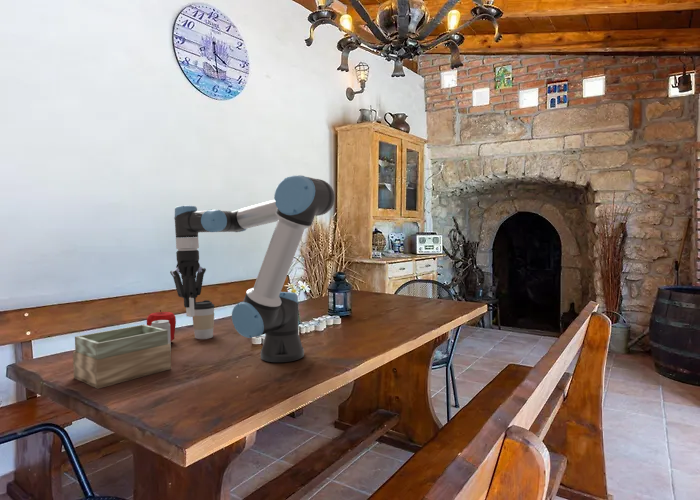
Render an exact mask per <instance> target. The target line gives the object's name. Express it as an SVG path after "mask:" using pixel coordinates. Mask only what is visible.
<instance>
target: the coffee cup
mask: <svg viewBox="0 0 700 500" xmlns="http://www.w3.org/2000/svg"><path fill="white" fill-rule="evenodd" d="M194 313H195V316H193V317H192V325H193V332H194V338H195V339H197V340H209V339H211V338H213V337H214V327H215V326H214V325H215V324H214V323H215V304H214V303H213V302H212V301H210V300H209V299H208V300H207V299H205V300H202V301H196V306H194Z"/></svg>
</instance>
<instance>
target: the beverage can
mask: <svg viewBox="0 0 700 500" xmlns="http://www.w3.org/2000/svg"><path fill="white" fill-rule="evenodd" d="M151 326H152V327H157V328H161V329H165V330H168V344H170V352H172V347H171V345H172V344H171V342H172V341H171V336H170V323H169V321H168V320H157V321H153V322H152V324H151Z"/></svg>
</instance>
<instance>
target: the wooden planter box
mask: <svg viewBox="0 0 700 500" xmlns="http://www.w3.org/2000/svg"><path fill="white" fill-rule="evenodd" d="M171 352H172V351H171ZM171 352H170V344H168V330H165V329H161V328H157V327H152V326H148V325H147V324H139V325H133V326H127V327H122V328H117V329H115V328H114V329H110V330H103V331H99V332H98V331H97V332H93V333H87V334H83V335H76V336H74V351H72V360H73V361H72V364H73V365H72V366H73V378H74V379H75V380H77V381H80V382H82V383H83V384H84V383H85V385H88V386H90V387H93V388H95V389H97V390H98V389H102V388H106V387H110V386H113V385H117V384H121V383H124V382H128V381H132V380H136V379H138V378H139V379H140V378H142V377H147V376H151V375H153V374H157V373H161V372H165V371H169V370H171V369H172V362H171V361H172V359H171V357H172V355H171Z"/></svg>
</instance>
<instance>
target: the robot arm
mask: <svg viewBox="0 0 700 500" xmlns="http://www.w3.org/2000/svg"><path fill="white" fill-rule="evenodd" d="M273 195H274V199H272V200H267V201H265V202H260V203H258V204H253V205H250V206H247V207H243V208H239V209H235V210H221V209H213V208H212V209H204V210H198V208H197V206H195V205H178V206H175V208H174V217H173V219H174V229H175V245H176V246H175V249H176V250H177V251H176V253H175V254H176V262H177V264H176V266H175V268H174V269H173V270H170V272H169V273H170V275H171V276H172V278H173V281H174V284H175V285H174V286H175V289H176V292H177V296H178V297H179V298H182V299H183V307H184V308H185V309H186V310H185V311H186V314H185V315H186V317H189V318H193V316H195V313H194V306H196V302H197V301H196V299H197V298H198V296H200V295H201V293H202V287H203V282H204V281H203V280H204V276H205V273H206V271H207V269H206V268H205V267H202V266H201V264H200V262H199V260H200V251H199V250H198V249H199V247H200V245H199V244H200V243H199V233H225V232H226V233H227V232H228V233H230V232H231V233H240V232H245V231H246V230H248V229H251V228H254V227H259V226H263V225H268V224H272V223H276V225H275V227H274V230H273V233H272V234H271V235H272V236H271V237H270V241H269V243H268V247H267V249H266V252H265V254H264V258H263V261H262V263H261V265H260V268H259V271H258V274H257V277H256V280H255V283H254V285H253V287H251V288H248V289H247V290H246V293H245V296H244V298H243V300H242V301H240V302H238V303H237V304H235V306H234V307H233V309H232V311H231V321H232V324H233V326H234V330H236V332H237V333H238V334H239V335H240V336H242V337H244V338H248V339H253V338H258V337H260V336H263V335H265V336H264V339H263V344H262V348H261V349H260V360H262V361H265V362H268V363H270V362H271V363H289V362H294V361H297V360H300V359H302V358H303V357H304V356H305V348H304V347H303V344H302V341H301V338H300V334H299V305H300V304H299V303H300V302H299V299H298V298H299V297H298V295H297V293H296V292H289V291H282V289H283V287H284V284H285V281H286V279H287V276H288V273H289V271H290V269H291V265H292V263H293V260H294V258H295V255H296V253H297V250H298V247H299V245H300V242H301V239H302V237H303V234H304V232H305V229H308V228H310V227H312V224H313V222H314V219H315V217H316V216H323V215H326V214H328V212H329V211H331V209H332V208H333V207H334V205H335V202H336V201H335V200H336V196H335V195H336V194H335V190H334V189H333V186H331V185H330V184H329V183H328V182H327V181H325V180H323V179H321V178H320V179H319V178H313V177H309V176H305V175H302V174H300V175H289V176H287V177H285V178H283V179H282V180H281V181H280V182H279V183H278V184H277V186H276V187H275V190H274V194H273Z"/></svg>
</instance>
